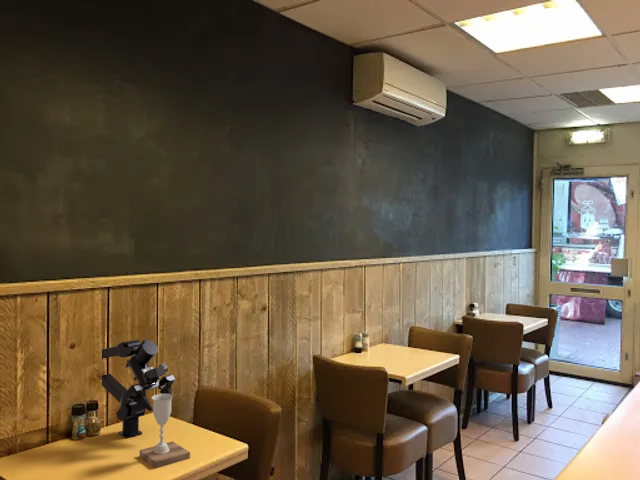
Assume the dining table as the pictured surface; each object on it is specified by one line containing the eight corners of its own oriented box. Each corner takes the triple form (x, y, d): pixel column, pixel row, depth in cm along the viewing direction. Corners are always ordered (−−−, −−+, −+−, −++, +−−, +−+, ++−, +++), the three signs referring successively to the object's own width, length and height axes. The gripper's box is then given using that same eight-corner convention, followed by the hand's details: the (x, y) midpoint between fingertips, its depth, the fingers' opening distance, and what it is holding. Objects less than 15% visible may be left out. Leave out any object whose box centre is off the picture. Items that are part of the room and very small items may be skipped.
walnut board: (139, 456, 182) (139, 450, 182) (172, 447, 191) (172, 441, 191) (155, 468, 174) (156, 461, 174) (189, 458, 182) (190, 452, 182)
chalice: (166, 456, 178) (167, 401, 178) (146, 454, 179) (147, 399, 179) (176, 447, 185) (176, 394, 185) (157, 445, 187) (158, 392, 186)
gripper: (131, 362, 187) (152, 401, 182) (172, 352, 203) (193, 388, 197) (115, 381, 191) (135, 419, 186) (157, 369, 207) (177, 404, 202)
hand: (161, 407), depth 193 cm, fingers open, 9 cm apart
